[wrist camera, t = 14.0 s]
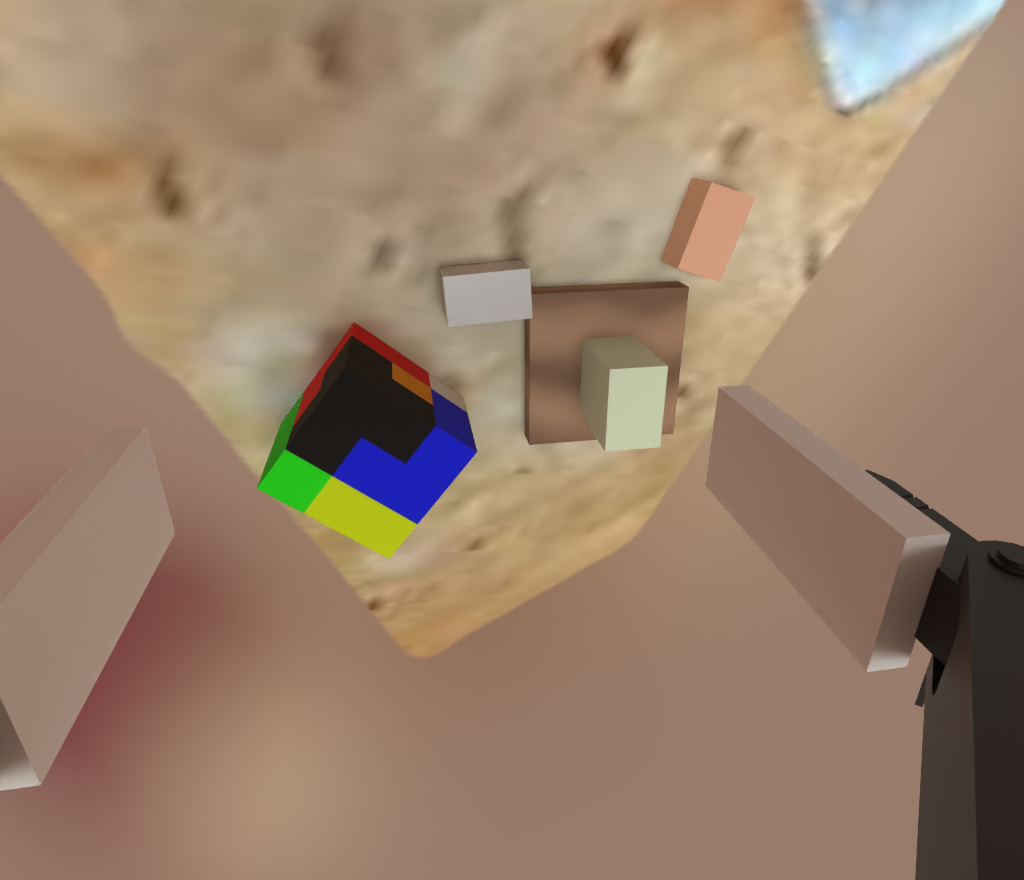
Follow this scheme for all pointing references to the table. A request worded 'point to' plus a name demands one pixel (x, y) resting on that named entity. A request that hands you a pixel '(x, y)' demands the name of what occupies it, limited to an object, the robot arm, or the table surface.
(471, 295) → the grey brick
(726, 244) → the terracotta brick
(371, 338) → the puzzle toy
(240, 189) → the table surface
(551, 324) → the walnut slab
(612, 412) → the sage brick
